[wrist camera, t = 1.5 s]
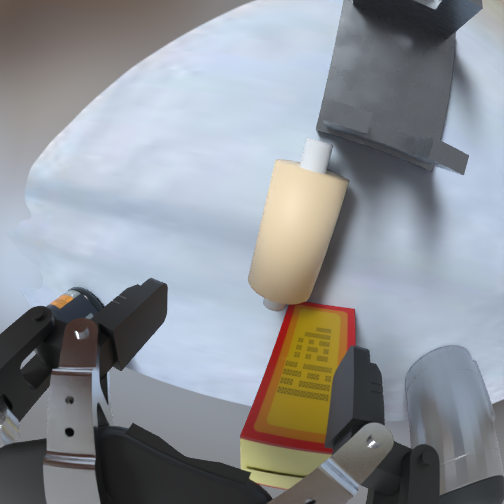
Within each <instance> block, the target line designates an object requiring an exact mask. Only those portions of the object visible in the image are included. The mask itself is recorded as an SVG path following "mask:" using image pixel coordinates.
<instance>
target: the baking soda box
mask: <svg viewBox="0 0 504 504" xmlns="http://www.w3.org/2000/svg"><path fill="white" fill-rule="evenodd" d="M351 345H353V346H355V309H351V308H343V307H336V306H329V305H323V304H316V303H310V302H303V303H299V304H291V305H290V304H289V305H288V308H287V311H286V314H285V317H284V320H283V323H282V326H281V329H280V332H279V335H278V338H277V341H276V343H275V346H274V349H273V352H272V355H271V357H270V360H269V363H268V366H267V368H266V371H265V374H264V377H263V379H262V382H261V384H260V387H259V390H258V392H257V395H256V398H255V400H254V403H253V405H252V408H251V410H250V413H249V415H248V418H247V420H246V423H245V425H244V428H243V430H242V433H241V435H240V446H241V470H245V471H248V472H251V474H250V477H249V479H251V480H253V481H254V482H256V483H257V484H259V485H264V486H269V487H273V488H279V489H284V490H288V489H289V488H291V487H292V486H293V485H295V484H296V483H298V482H299V481H300V480H302V479H303V478H304V477H306V476H307V475H308V474H310V473H311V472H312V471H314V470H315V469H316V468H317V467H319V466H320V465H321V464H322V463H324V462H325V461H326V460H327V459H328V458H330V457H331V456H332V451H333V449H331V448H325V447H324V445H325V438H326V431H327V424H328V416H329V408H330V399H331V389H332V380H333V377H334V374H335V371H336V369H337V368H338V366H339V364H340V363H341V361H342V359H343V358H344V356H345V354H346V352H347V351H348V349H349V347H350V346H351Z"/></svg>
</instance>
